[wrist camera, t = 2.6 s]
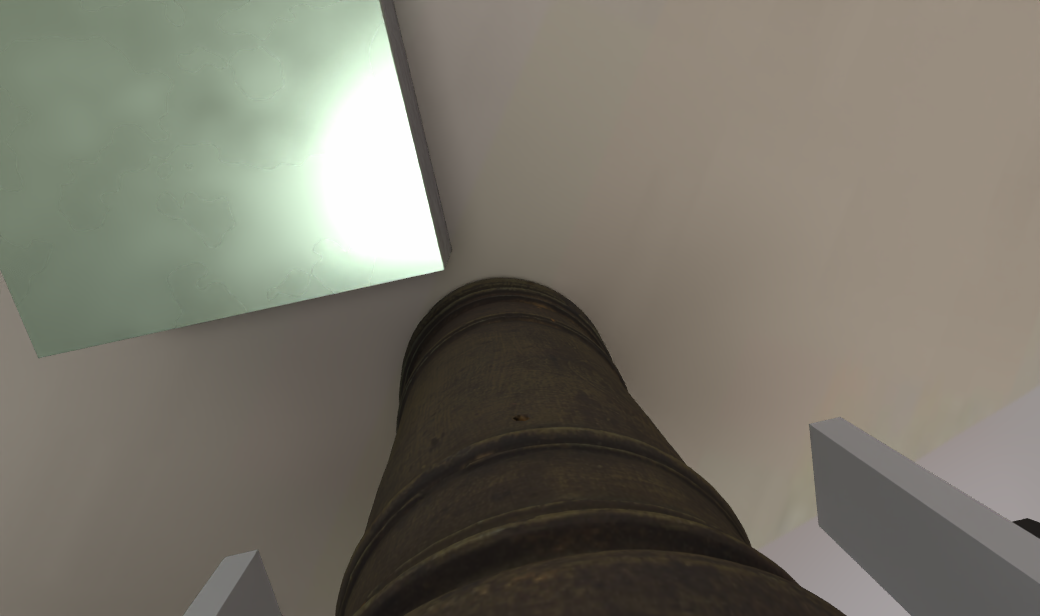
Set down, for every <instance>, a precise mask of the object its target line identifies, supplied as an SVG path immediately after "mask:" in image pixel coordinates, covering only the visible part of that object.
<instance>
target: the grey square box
mask: <svg viewBox="0 0 1040 616" xmlns="http://www.w3.org/2000/svg"><path fill="white" fill-rule="evenodd" d="M451 252H452V248H451V244H450V239H449V235H448V231H447V227H446V222H445V218H444V214H443V210H442V206H441V201H440V197H439V193H438V189H437V184H436V180H435V176H434V172H433V167H432V163H431V159H430V155H429V150H428V146H427V142H426V138H425V134H424V129H423V125H422V121H421V117H420V112H419V108H418V104H417V100H416V95H415V91H414V87H413V83H412V78H411V74H410V70H409V66H408V62H407V57H406V53H405V49H404V45H403V40H402V36H401V32H400V28H399V23H398V19H397V15H396V11H395V6H394V2H393V0H0V270H1V272H2V275H3V277H4V279H5V282H6V284H7V286H8V289H9V291H10V293H11V296H12V298H13V300H14V303H15V305H16V307H17V310H18V312H19V314H20V317H21V319H22V321H23V323H24V326H25V328H26V330H27V333H28V335H29V337H30V340H31V342H32V344H33V347H34V349H35V351H36V354H37V356H38V358H42V357H46V356H51V355H55V354H60V353H65V352H69V351H74V350H78V349H83V348H88V347H92V346H97V345H101V344H106V343H111V342H115V341H120V340H124V339H129V338H134V337H138V336H143V335H147V334H152V333H156V332H161V331H166V330H170V329H175V328H179V327H184V326H189V325H193V324H198V323H202V322H207V321H212V320H216V319H221V318H225V317H230V316H235V315H239V314H244V313H248V312H253V311H258V310H262V309H267V308H271V307H276V306H280V305H285V304H290V303H294V302H299V301H303V300H308V299H313V298H317V297H322V296H326V295H331V294H336V293H340V292H345V291H349V290H354V289H359V288H363V287H368V286H372V285H377V284H382V283H386V282H391V281H395V280H400V279H404V278H409V277H414V276H418V275H423V274H427V273H432V272H437V271H441V270H444V269H445V266H446V264H447V262H448V259H449V257H450V254H451Z"/></svg>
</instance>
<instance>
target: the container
mask: <svg viewBox="0 0 1040 616" xmlns="http://www.w3.org/2000/svg"><path fill="white" fill-rule="evenodd" d="M335 616H846V615H845V614H843V613H842V612H841V611H839V610H838V609H837V608H835V607H834V606H832V605H831V604H829V603H828V602H826V601H825V600H823V599H822V598H820V597H818V596H817V595H815V594H813V593H811V592H810V591H808V590H806V589H804V588H803V587H801V586H800V585H799V584H798V583H797V582H796V581H795V580H794V579H793V578H792V577H791V576H790V575H789V574H788V573H787V572H785V570H783V569H782V568H781V567H779V566H778V565H777V564H776V563H774V562H773V561H772V560H770V559H769V558H767V557H766V556H764V555H763V554H762V553H760V552H758V551H757V550H755V549H754V548H752V547H751V544H750V541H749V539H748V537H747V534H746V532H745V530H744V528H743V526H742V525H741V523H740V521H739V520H738V518H737V516H736V515H735V513H734V512H733V510H732V508H731V507H730V506H729V504H728V503H727V502H726V501H725V500H724V499H723V498H722V497H721V495H720V494H719V493H718V492H717V491H716V490H715V489H714V488H713V487H712V486H711V485H710V484H709V483H708V482H707V481H706V480H705V479H704V478H702V477H701V476H700V475H699V474H697V473H696V472H695V471H694V470H692V469H691V468H690V467H688V466H687V465H686V464H685V462H684V461H683V460H682V459H681V457H680V456H679V455H678V454H677V452H676V451H675V450H674V449H673V447H672V446H671V445H670V444H669V443H668V442H667V440H666V439H665V438H664V436H663V435H662V434H661V432H660V431H659V430H658V429H657V427H656V426H655V425H654V423H653V422H652V421H651V420H650V418H649V417H648V416H647V415H646V414H645V412H644V411H643V410H642V409H641V408H640V406H639V405H638V404H637V403H636V402H635V400H634V399H633V398H632V397H631V395H630V394H629V393H628V390H627V387H626V385H625V383H624V381H623V379H622V376H621V375H620V373H619V371H618V369H617V368H616V366H615V365H614V363H613V361H612V358H611V356H610V354H609V352H608V350H607V348H606V346H605V345H604V343H603V341H602V339H601V337H600V335H599V333H598V331H597V330H596V328H595V326H594V325H593V324H592V322H591V321H590V320H589V318H588V317H587V316H586V315H585V314H584V313H583V312H582V311H581V310H580V309H579V308H578V307H577V306H576V305H575V304H574V303H572V302H571V301H570V300H568V299H567V298H565V297H564V296H563V295H561V294H559V293H557V292H556V291H554V290H551V289H549V288H547V287H545V286H542V285H540V284H536V283H533V282H530V281H525V280H519V279H510V278H494V279H486V280H481V281H477V282H474V283H470V284H468V285H465V286H463V287H461V288H459V289H457V290H455V291H453V292H452V293H450V294H449V295H447V296H446V297H444V298H443V299H442V300H441V301H439V302H438V303H437V304H436V305H435V306H434V307H433V308H432V309H431V310H430V311H429V312H428V314H427V315H426V316H425V317H424V318H423V319H422V321H421V322H420V323H419V325H418V326H417V328H416V330H415V331H414V333H413V335H412V337H411V339H410V341H409V344H408V347H407V350H406V353H405V356H404V360H403V366H402V373H401V381H400V391H399V409H398V416H397V428H396V437H395V441H394V444H393V447H392V451H391V454H390V457H389V461H388V464H387V467H386V469H385V472H384V474H383V477H382V480H381V482H380V485H379V488H378V491H377V494H376V497H375V501H374V504H373V507H372V510H371V513H370V516H369V519H368V523H367V527H366V530H365V534H364V536H363V537H362V539H361V540H360V542H359V544H358V545H357V547H356V549H355V551H354V553H353V555H352V557H351V560H350V562H349V564H348V567H347V569H346V572H345V574H344V577H343V581H342V584H341V588H340V592H339V596H338V601H337V605H336V614H335Z"/></svg>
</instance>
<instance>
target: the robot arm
mask: <svg viewBox="0 0 1040 616" xmlns="http://www.w3.org/2000/svg"><path fill="white" fill-rule="evenodd" d="M809 427H810V438H811V449H812V459H813V470H814V481H815V491H816V502H817V513H818V523H819V526H820V527H821V528H822V529H823V530H824V531H825V532H826V533H827V534H828V535H829V536H830V537H831V538H832V539H833V540H834V541H836V543H837V544H838V545H839V546H840V547H841V548H842V549H844V551H846V552H847V553H848V554H849V555H850V556H851V557H852V558H853V559H854V560H855V561H856V562H857V563H858V564H859V565H860V566H861V567H862V568H863V569H864V570H865V571H866V572H867V573H868V574H869V575H870V576H871V577H872V578H873V579H874V580H875V581H876V582H877V583H878V584H879V585H880V586H881V587H883V589H885V590H886V591H887V592H888V593H889V594H890V595H891V596H892V597H893V598H894V599H895V600H896V601H897V602H898V603H899V604H900V605H901V606H902V607H903V608H904V609H905V610H906V611H907V612H908V613H909V614H910V615H911V616H1040V523H1039V522H1036V521H1034V520H1031V519H1028V518H1026V519H1022V520H1018V521H1013V522H1011V521H1010V520H1008V519H1006V518H1004V517H1003V516H1001V515H1000V514H998V513H996V512H995V511H993V510H991V509H990V508H988V507H987V506H985V505H983V504H982V503H980V502H979V501H977V500H975V499H973V498H972V497H970V496H968V495H967V494H965V493H964V492H962V491H960V490H959V489H957V488H956V487H954V486H952V485H951V484H949V483H948V482H946V481H944V480H943V479H941V478H939V477H938V476H936V475H934V474H933V473H931V472H930V471H928V470H926V469H925V468H923V467H921V466H920V465H918V464H916V463H915V462H913V461H912V460H910V459H908V458H907V457H905V456H903V455H902V454H900V453H899V452H897V451H895V450H894V449H892V448H890V447H889V446H887V445H886V444H884V443H882V442H881V441H879V440H877V439H876V438H874V437H872V436H871V435H869V434H868V433H866V432H864V431H863V430H861V429H859V428H858V427H856V426H854V425H853V424H851V423H850V422H848V421H846V420H845V419H843V418H841V417H838V418H833V419H829V420H825V421H820V422H816V423H811V424H809ZM183 616H282V614H281V612H280V609H279V606H278V603H277V601H276V598H275V595H274V592H273V590H272V587H271V584H270V581H269V579H268V576H267V573H266V570H265V568H264V565H263V562H262V559H261V556H260V554H259V551H258V550H254V551H250V552H245V553H241V554H236V555H232V556H228V557H225V558H224V559H223V560H222V562H221V563H220V565H219V566H218V567H217V569H216V570H215V572H214V573H213V574H212V576H211V577H210V579H209V580H208V581H207V583H206V584H205V586H204V587H203V588H202V590H201V591H200V593H199V594H198V595H197V597H196V598H195V600H194V601H193V602H192V604H191V605H190V607H189V608H188V609H187V611H186V612H185V614H184V615H183Z"/></svg>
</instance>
